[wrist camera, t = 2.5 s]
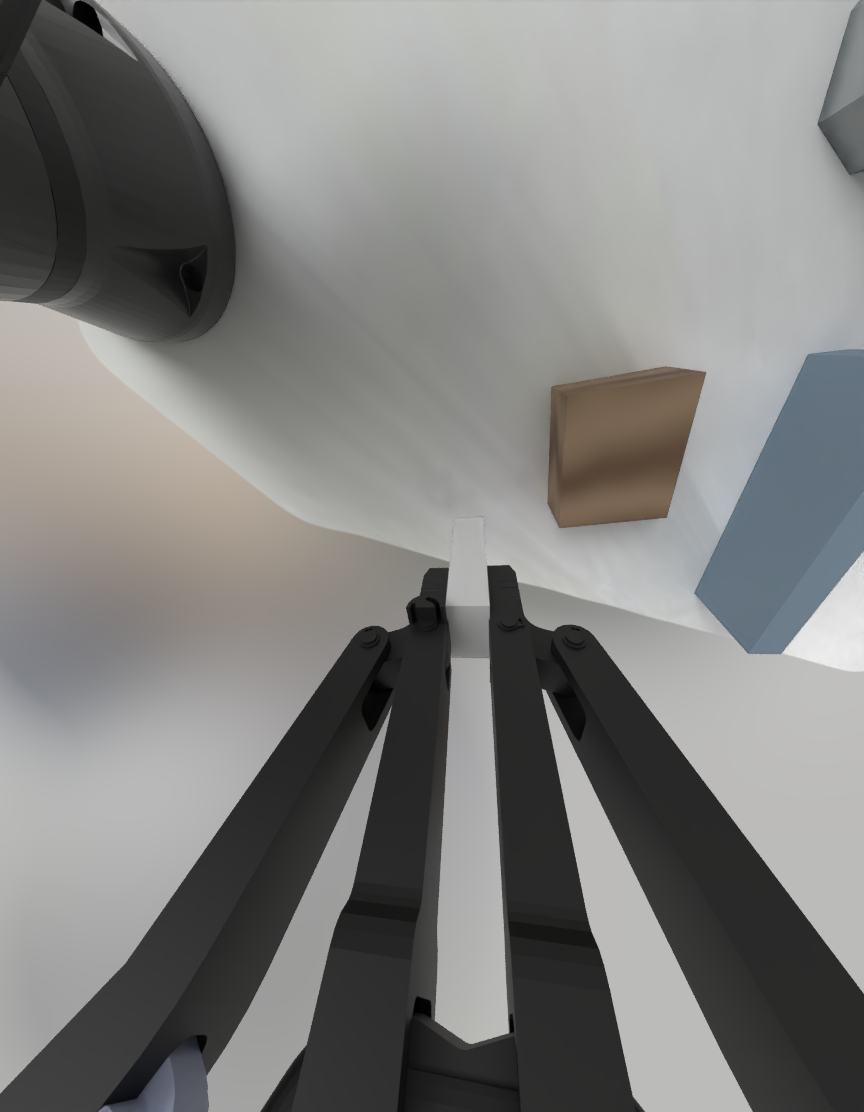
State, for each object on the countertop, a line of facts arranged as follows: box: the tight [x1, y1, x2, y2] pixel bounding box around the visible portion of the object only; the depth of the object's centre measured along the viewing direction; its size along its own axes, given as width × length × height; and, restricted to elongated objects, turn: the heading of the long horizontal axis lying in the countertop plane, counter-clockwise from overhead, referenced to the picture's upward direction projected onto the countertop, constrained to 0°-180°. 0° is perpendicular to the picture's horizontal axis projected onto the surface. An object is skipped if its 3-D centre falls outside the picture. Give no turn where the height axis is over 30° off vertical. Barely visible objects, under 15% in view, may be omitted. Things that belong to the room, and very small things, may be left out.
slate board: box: [695, 350, 864, 654], centre depth 24 cm, size 22×2×8 cm, turn 6°
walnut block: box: [548, 367, 706, 528], centre depth 24 cm, size 10×8×5 cm
